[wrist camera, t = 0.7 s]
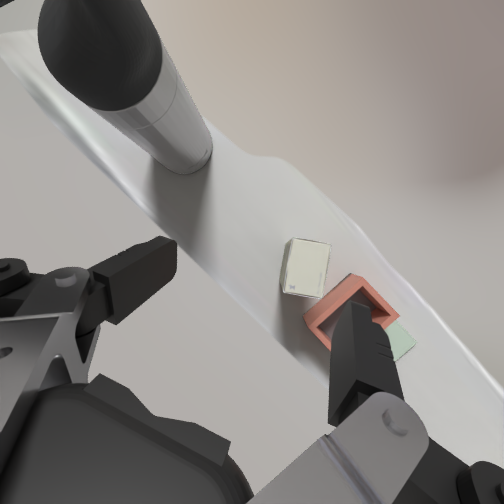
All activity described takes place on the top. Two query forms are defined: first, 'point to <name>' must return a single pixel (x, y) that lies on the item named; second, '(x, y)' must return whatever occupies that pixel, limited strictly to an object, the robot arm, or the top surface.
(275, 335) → the top surface
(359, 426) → the robot arm
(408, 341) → the pad
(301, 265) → the skincare box
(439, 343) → the top surface
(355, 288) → the bin
